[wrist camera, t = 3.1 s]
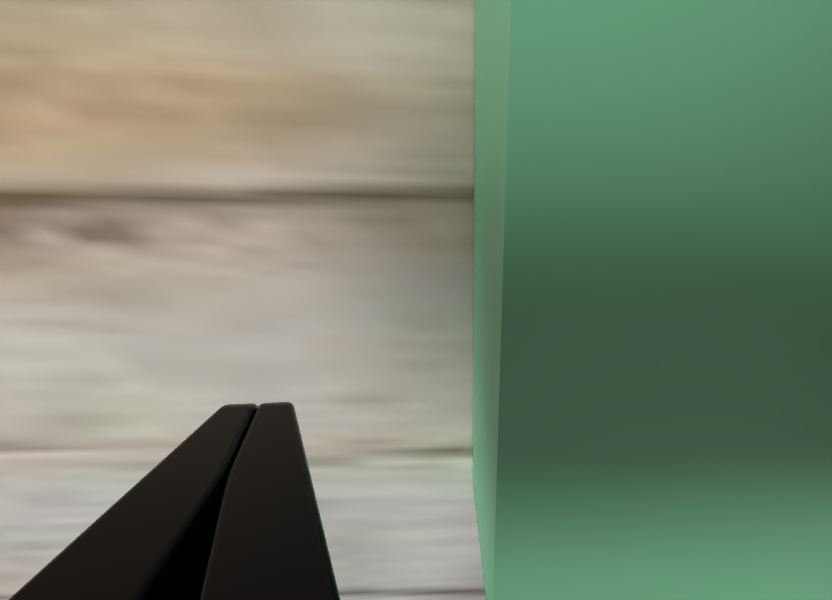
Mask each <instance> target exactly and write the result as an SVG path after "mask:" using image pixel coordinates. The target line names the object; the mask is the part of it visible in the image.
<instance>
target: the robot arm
mask: <svg viewBox="0 0 832 600" xmlns="http://www.w3.org/2000/svg"><path fill="white" fill-rule="evenodd" d="M9 600H340V597H339V593H338V588H337V584H336V580H335V576H334V572H333V568H332V563H331V559H330V555H329V551H328V547H327V543H326V538H325V534H324V530H323V526H322V522H321V517H320V513H319V509H318V505H317V501H316V497H315V492H314V488H313V484H312V480H311V476H310V472H309V467H308V463H307V459H306V455H305V451H304V447H303V442H302V438H301V434H300V430H299V426H298V421H297V417H296V413H295V409H294V406H293V404H292V403H290V402H277V403H263V404H261V405H260V406H257V405H255V404H229V405H225V406H223V407H221V408H220V409H219V410H218V411H216V412H215V413H214V414H213V415H212V416H211V417H210V418H209V419H208V420H207V421H205V422H204V423H203V424H202V425H201V426H200V427H199V428H198V429H197V430H195V431H194V432H193V433H192V434H191V435H190V436H189V437H188V438H187V439H186V440H184V441H183V442H182V443H181V444H180V445H179V446H178V447H177V448H176V449H174V450H173V451H172V452H171V453H170V454H169V455H168V456H167V457H166V458H165V459H163V460H162V461H161V462H160V463H159V464H158V465H157V466H156V467H155V468H153V469H152V470H151V471H150V472H149V473H148V474H147V475H146V476H145V477H144V478H142V479H141V480H140V481H139V482H138V483H137V484H136V485H135V486H134V487H132V488H131V489H130V490H129V491H128V492H127V493H126V494H125V495H124V496H123V497H121V498H120V499H119V500H118V501H117V502H116V503H115V504H114V505H113V506H111V507H110V508H109V509H108V510H107V511H106V512H105V513H104V514H103V515H102V516H100V517H99V518H98V519H97V520H96V521H95V522H94V523H93V524H92V525H91V526H89V527H88V528H87V529H86V530H85V531H84V532H83V533H82V534H81V535H79V536H78V537H77V538H76V539H75V540H74V541H73V542H72V543H71V544H70V545H68V546H67V547H66V548H65V549H64V550H63V551H62V552H61V553H60V554H58V555H57V556H56V557H55V558H54V559H53V560H52V561H51V562H50V563H49V564H47V565H46V566H45V567H44V568H43V569H42V570H41V571H40V572H39V573H37V574H36V575H35V576H34V577H33V578H32V579H31V580H30V581H29V582H28V583H26V584H25V585H24V586H23V587H22V588H21V589H20V590H19V591H18V592H16V593H15V594H14V595H13V596H12V597H11V598H10V599H9Z"/></svg>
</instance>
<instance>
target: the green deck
mask: <svg viewBox="0 0 832 600" xmlns="http://www.w3.org/2000/svg"><path fill="white" fill-rule="evenodd" d="M473 489H474V497H475V506H476V515H477V523H478V532H479V541H480V550H481V558H482V567H483V576H484V584H485V593H486V600H832V0H475V116H474V378H473Z"/></svg>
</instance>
